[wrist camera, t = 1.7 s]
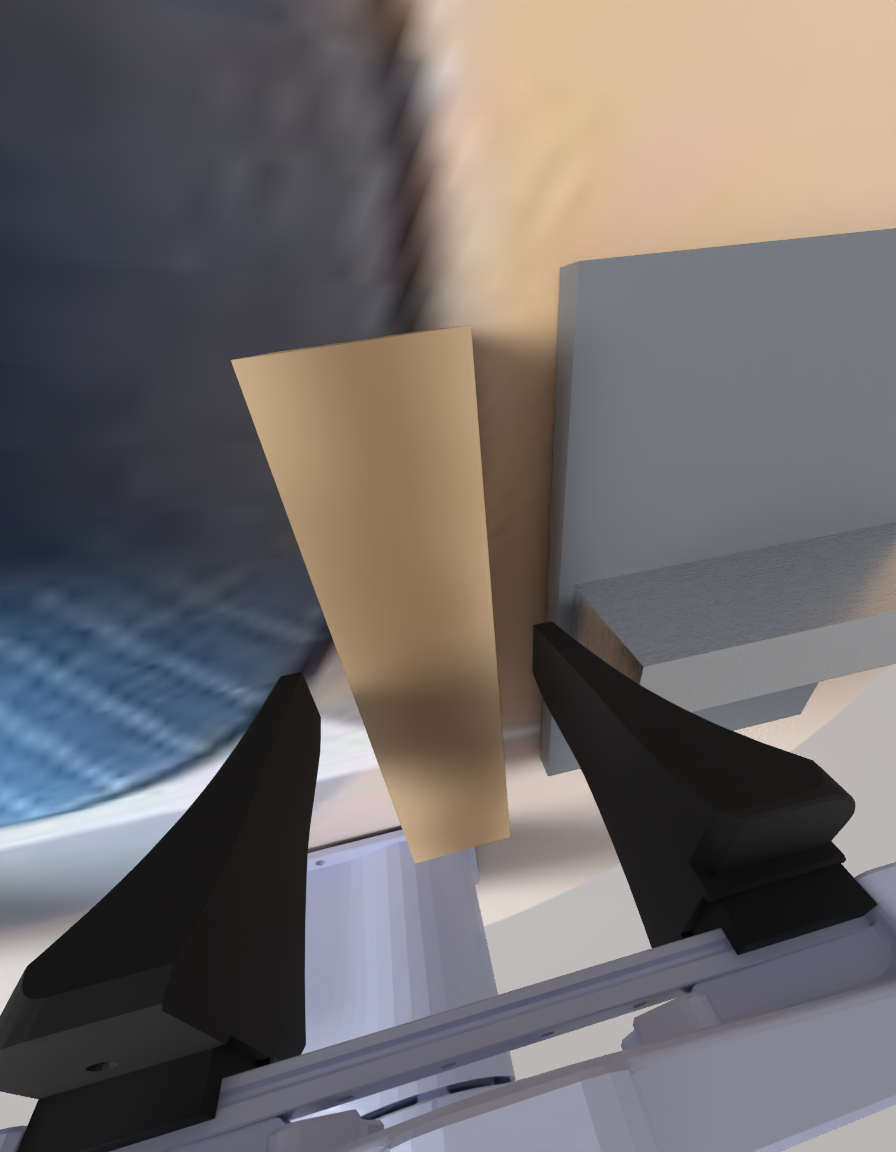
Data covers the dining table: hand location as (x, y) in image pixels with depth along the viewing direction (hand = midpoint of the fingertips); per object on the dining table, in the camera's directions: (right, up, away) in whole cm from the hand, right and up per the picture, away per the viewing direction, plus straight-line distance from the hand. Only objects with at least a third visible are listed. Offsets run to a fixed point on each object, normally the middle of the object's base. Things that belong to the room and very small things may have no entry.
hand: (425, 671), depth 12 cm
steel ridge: (+11, +3, +3) cm, 12 cm away
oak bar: (-1, +1, +2) cm, 3 cm away
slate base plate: (+11, +3, +3) cm, 12 cm away
